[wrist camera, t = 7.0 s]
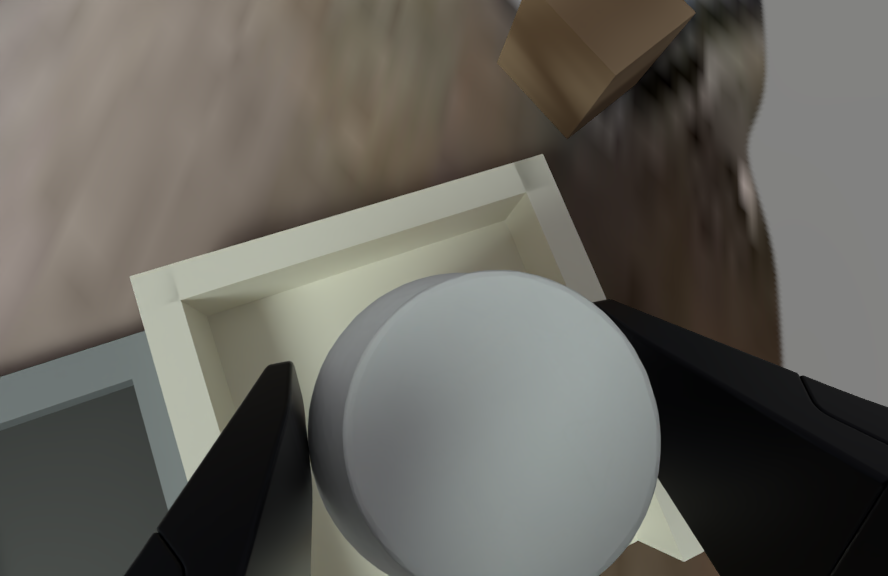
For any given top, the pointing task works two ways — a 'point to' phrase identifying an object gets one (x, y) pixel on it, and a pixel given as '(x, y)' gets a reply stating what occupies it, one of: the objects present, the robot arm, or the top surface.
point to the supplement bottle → (485, 430)
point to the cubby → (352, 309)
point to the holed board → (85, 462)
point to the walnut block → (586, 52)
